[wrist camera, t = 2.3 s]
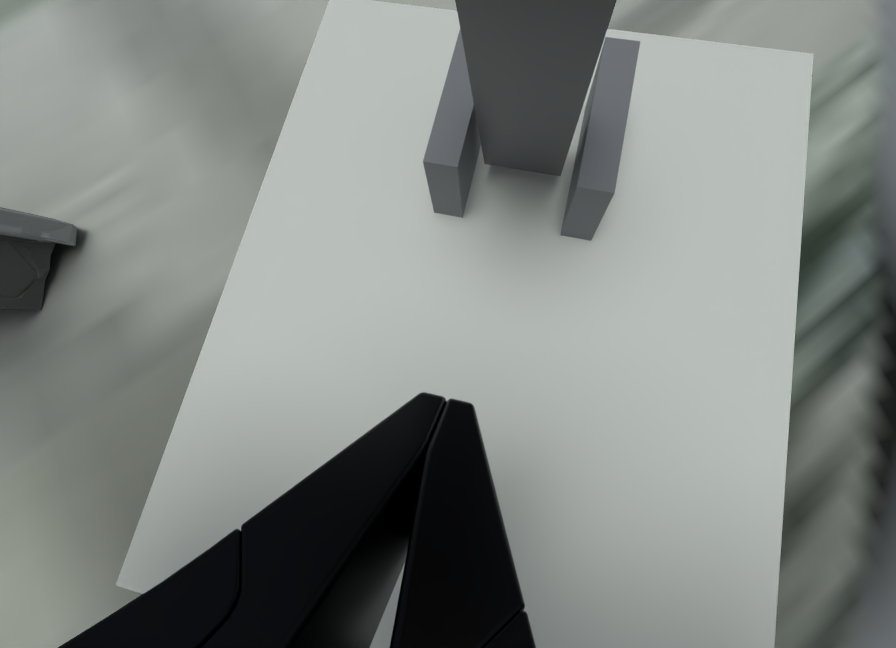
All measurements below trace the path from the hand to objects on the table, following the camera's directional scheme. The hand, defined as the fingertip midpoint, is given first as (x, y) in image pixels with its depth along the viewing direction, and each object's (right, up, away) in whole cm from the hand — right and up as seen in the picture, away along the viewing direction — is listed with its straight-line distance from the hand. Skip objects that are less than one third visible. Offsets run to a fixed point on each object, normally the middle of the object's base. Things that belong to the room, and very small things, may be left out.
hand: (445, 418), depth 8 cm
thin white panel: (+2, +2, +11) cm, 11 cm away
